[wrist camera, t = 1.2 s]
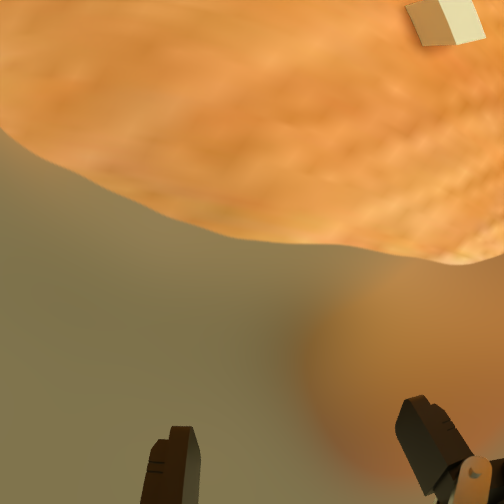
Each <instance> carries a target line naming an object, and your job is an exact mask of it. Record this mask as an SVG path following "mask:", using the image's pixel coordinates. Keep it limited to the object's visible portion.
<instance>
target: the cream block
mask: <svg viewBox="0 0 504 504" xmlns="http://www.w3.org/2000/svg"><path fill="white" fill-rule="evenodd" d="M405 7H406V9H407V11H408V14H409V16H410V18H411V20H412V22H413V25H414V27H415V29H416V31H417V34H418V36H419V39H420V41H421V43H422V46H439V45H459V44H463V43H467V42H471V41H475V40H480V39H484V38H486V36H485V33H484V31H483V28H482V25H481V22H480V20H479V17H478V15H477V12H476V10H475V7H474V5H473V3H472V0H424V1H420V2H416V3H412V4H409V5H405Z"/></svg>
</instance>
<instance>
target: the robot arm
mask: <svg viewBox="0 0 504 504" xmlns="http://www.w3.org/2000/svg"><path fill="white" fill-rule="evenodd" d="M395 432H396V436H397V438H398V440H399V442H400V444H401V446H402V449H403V451H404V453H405V455H406V457H407V459H408V461H409V463H410V465H411V467H412V469H413V471H414V474H415V475H416V478H417V480H418V482H419V484H420V487H421V489H422V491H423V493H424V495H425V496H427V495H430V494H432V493H435V495H436V499H435V500H434V503H433V504H504V458H503V459H497V460H492V461H488V460H487V459H486V458H484V457H481V456H475V455H474V454H473V453H472V452H471V450H470V449H469V447H468V446H467V444H466V442H465V441H464V439H463V438H462V436H461V435H460V433H459V432H458V430H457V429H456V428H455V425H454V424H453V422H452V421H450V418H449V416H448V415H447V414H446V412H445V411H444V410H443V409H442V408H440V407H439V406H438V405H436V404H432V405H430V403H429V402H428V400H427V399H426V397H425V396H424V395H419V396H416V397H412V398H409V399H406V400H404V402H403V405H402V408H401V410H400V413H399V416H398V418H397V421H396V424H395ZM200 465H201V456H200V449H199V446H198V443H197V439H196V436H195V433H194V430H193V427H191V426H172V427H171V430H170V435H169V440H165V439H159V440H158V441H157V442H156V443H155V445H154V446H153V447H152V449H151V452H150V456H149V463H148V466H147V473H146V476H145V481H144V486H143V491H142V496H141V501H140V504H198V496H199V480H200Z"/></svg>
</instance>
